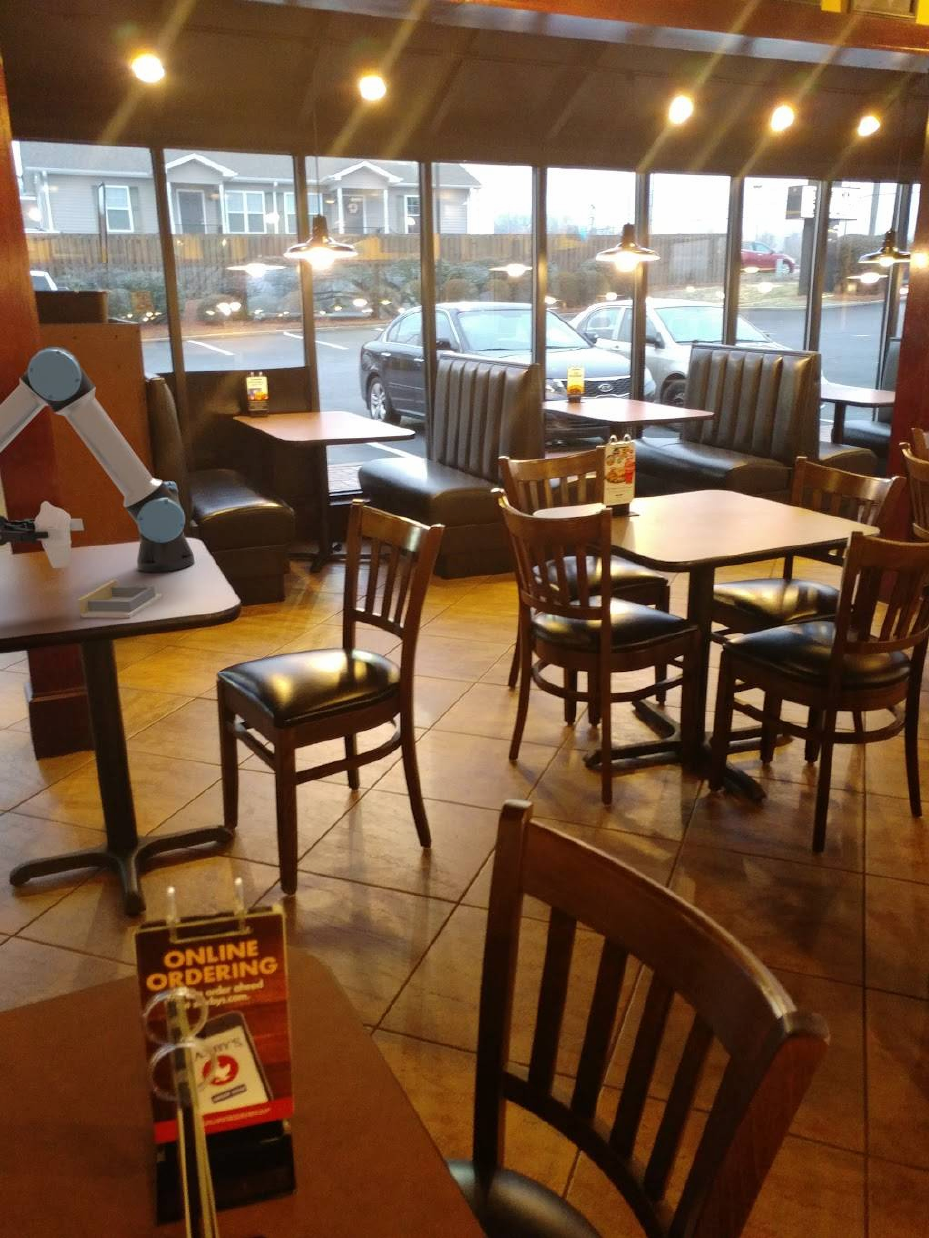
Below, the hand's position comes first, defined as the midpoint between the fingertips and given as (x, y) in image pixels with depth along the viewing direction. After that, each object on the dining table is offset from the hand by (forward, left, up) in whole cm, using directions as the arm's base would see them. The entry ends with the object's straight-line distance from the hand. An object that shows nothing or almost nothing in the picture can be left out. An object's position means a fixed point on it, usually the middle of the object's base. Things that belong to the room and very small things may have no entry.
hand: (72, 529), depth 242 cm
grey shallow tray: (-8, +5, -19) cm, 22 cm away
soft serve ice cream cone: (+4, -3, -9) cm, 10 cm away
